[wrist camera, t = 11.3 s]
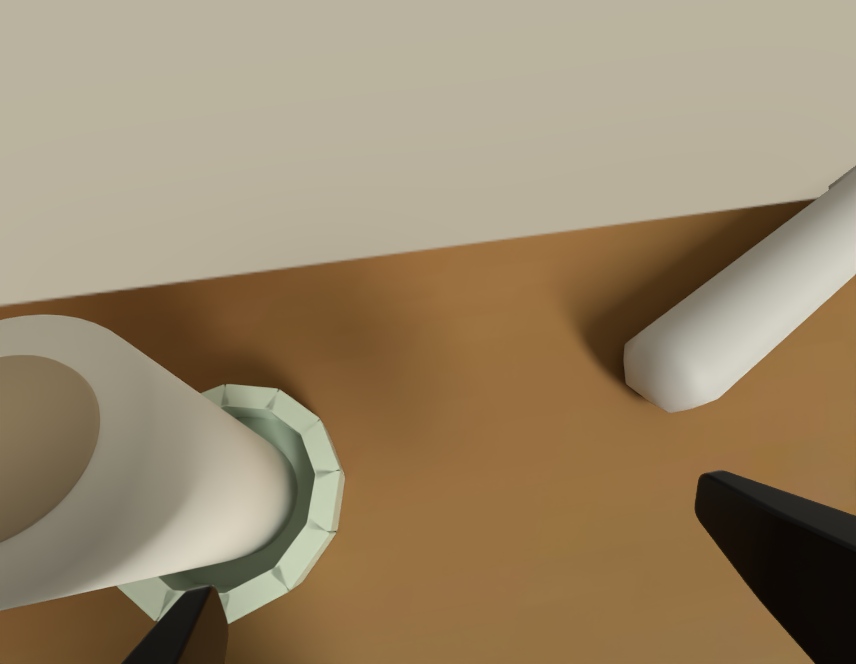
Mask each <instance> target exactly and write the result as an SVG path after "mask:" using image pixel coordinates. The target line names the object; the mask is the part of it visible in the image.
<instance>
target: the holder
mask: <svg viewBox="0 0 856 664" xmlns="http://www.w3.org/2000/svg"><path fill="white" fill-rule="evenodd" d="M200 394H201V395H203V396H204V397H206V398H207V399H208V400H210V401H211V402H213V403H214V404H215V405H217V406H218V407H220V408H221V409H223V410H224V411H225V412H227V413H228V414H230V415H231V416H232V417H234V418H235V419H237V420H238V421H239V422H241V423H242V424H244V425H245V426H247V427H248V428H249V429H251V430H252V431H254V432H255V433H256V434H258V435H259V436H261V437H262V438H264V439H265V440H266V441H268V442H269V443H271V444H272V445H273V446H275V447H276V448H278V449H279V450H280V451H281V452H282V453H284V454H285V456H286V457H287V458H288V459H289V461H290V462H291V464H292V466H293V468H294V471H295V474H296V478H297V484H298V494H297V502H296V505H295V509H294V512H293V514H292V517H291V519H290V521H289V523H288V524H287V526H286V527H285V529H284V530H283V532H282V533H281V534H280V535H279V536H278V537H277V538H276V539H275V540H274V541H273V542H272V543H271V544H270V545H268V546H267V547H266V548H264V549H263V550H261V551H259V552H257V553H255V554H253V555H250V556H247V557H244V558H240V559H235V560H231V561H226V562H222V563H217V564H212V565H208V566H203V567H199V568H194V569H190V570H185V571H180V572H176V573H171V574H167V575H162V576H157V577H153V578H148V579H144V580H139V581H134V582H130V583H125V584H121V585H116V586H117V587H118V588H119V589H120V590H121V591H122V592H123V593H125V594H126V595H127V596H128V597H129V598H130V599H131V600H132V601H133V602H134V603H135V604H137V605H138V606H139V607H140V608H141V609H142V610H143V611H144V612H145V613H146V614H148V615H149V616H150V617H151V618H152V619H153V620H154V621H156V620H158V621H159V620H160V619H161V618H162V617H163V616H164V614H165V613H166V612H167V611H168V610H169V609H170V608H171V607H172V605H173V604H174V603H175V602H176V601H177V600H178V599H179V597H180V596H181V595H182V594H183V593H185V592H186V591H187V590H189V589H193V588H197V587H202V586H206V585H214V586H215V587H216V588H217V590H218V593H219V596H220V599H221V602H222V605H223V608H224V611H225V615H226V618H227V622H228V624H229V623H231V622H233V621H235V620H237V619H239V618H241V617H243V616H244V615H246V614H248V613H250V612H252V611H254V610H256V609H257V608H259V607H261V606H263V605H265V604H267V603H269V602H270V601H272V600H274V599H276V598H278V597H280V596H282V595H283V594H285V593H287V592H289V591H290V590H292V589H293V588H295V587H296V586H298V585H299V584H300V583H302V582H303V580H304V579H305V577H306V576H307V575H308V573H309V572H310V570H311V569H312V567H313V566H314V565H315V563H316V562H317V560H318V559H319V557H320V556H321V555H322V553H323V552H324V550H325V549H326V547H327V546H328V544H329V543H330V542H331V540H332V539H333V537H334V536H335V534H336V532H335V531H337V530H338V523H339V517H340V510H341V503H342V496H343V489H344V482H345V477H344V475H345V474H344V472H343V469H342V466H341V464H340V461H339V459H338V456H337V454H336V451H335V449H334V446H333V443H332V441H331V438H330V436H329V433H328V431H327V429H326V428H325V426H324V424H323V423H322V421H321V420H320V418H318V417H317V416H316V415H314V414H313V413H312V412H310V411H309V410H308V409H306V408H305V407H303V406H302V405H301V404H299V403H298V402H297V401H295V400H294V399H292V398H291V397H290V396H288V395H287V394H286V393H284V392H283V391H282V390H279V389H277V388H266V387H255V386H244V385H233V384H226V386H225V385H224V384H223V385H221V386H218V387H216V388H213V389H210V390H208V391H205V392H203V393H200Z"/></svg>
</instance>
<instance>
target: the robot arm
mask: <svg viewBox="0 0 856 664" xmlns="http://www.w3.org/2000/svg"><path fill="white" fill-rule="evenodd" d="M695 513H696V516H697V518H698V520H699V521H700V523H701V524H702V525H703V527H704V528H705V529H706V531H707V532H708V533H709V535H710V536H711V537H712V539H713V540H714V541H715V543H716V544H717V545H718V547H719V548H720V549H721V551H722V552H723V553H724V555H725V556H726V557H727V559H728V560H729V561H730V563H731V564H732V565H733V567H734V568H735V569H736V570H737V572H738V573H739V574H740V576H741V577H742V578H743V580H744V581H745V582H746V584H747V585H748V586H749V588H750V589H751V590H752V591H753V593H754V594H755V595H756V596H757V598H758V599H759V600H760V601H761V602H762V604H763V605H764V606H765V607H766V608H767V610H768V611H769V612H770V613H771V614H772V615H773V616H774V618H775V619H776V620H777V621H778V622H779V623H780V624H781V626H782V627H783V628H784V629H785V630H786V631H787V632H788V633H789V635H790V636H791V637H792V638H793V639H794V640H795V641H796V643H797V644H798V645H799V646H800V647H801V648H802V649H803V651H804V652H805V653H806V654H807V655H808V656H809V657H810V659H811V660H812V661H813V662H814V663H815V664H856V516H855V515H852V514H849V513H846V512H843V511H840V510H837V509H835V508H832V507H829V506H826V505H823V504H820V503H817V502H814V501H811V500H808V499H805V498H803V497H800V496H797V495H794V494H791V493H788V492H785V491H782V490H779V489H776V488H773V487H771V486H768V485H765V484H762V483H759V482H756V481H753V480H750V479H747V478H744V477H741V476H739V475H736V474H733V473H730V472H727V471H723V470H717V471H713V472H708V473H704V474H702V475H701V476H700V477H699V480H698V485H697V492H696V499H695ZM227 639H228V622H227V618H226V615H225V611H224V608H223V605H222V602H221V599H220V596H219V593H218V590H217V588H216V587H215V586H214V585H206V586H202V587H197V588H193V589H189V590H187V591H186V592H185V593H183V594H182V595H181V596H180V597H179V599H178V600H177V601H176V602H175V603H174V604H173V605H172V607H171V608H170V609H169V610H168V611H167V612H166V613H165V614H164V616H163V617H162V618H161V619H160V620H159V621H158V622H157V623H156V625H155V626H154V627H153V628H152V629H151V630H150V631H149V632H148V634H147V635H146V636H145V637H144V638H143V639H142V640H141V641H140V643H139V644H138V645H137V646H136V647H135V648H134V649H133V651H132V652H131V653H130V654H129V655H128V656H127V657H126V658H125V660H124V661H123V662H122V663H121V664H224V661H225V654H226V647H227Z"/></svg>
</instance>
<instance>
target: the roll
mask: <svg viewBox="0 0 856 664" xmlns="http://www.w3.org/2000/svg"><path fill="white" fill-rule="evenodd" d="M297 494H298V484H297V478H296V474H295V471H294V468H293V466H292V464H291V462H290V461H289V459H288V458H287V457H286V456H285V454H284V453H282V452H281V451H280V450H279V449H278V448H276V447H275V446H273V445H272V444H271V443H269V442H268V441H266V440H265V439H264V438H262V437H261V436H259V435H258V434H256V433H255V432H254V431H252V430H251V429H249V428H248V427H247V426H245V425H244V424H242V423H241V422H239V421H238V420H237V419H235V418H234V417H232V416H231V415H230V414H228V413H227V412H225V411H224V410H223V409H221V408H220V407H218V406H217V405H215V404H214V403H213V402H211V401H210V400H208V399H207V398H206V397H204V396H203V395H201V394H200V393H199V392H197V391H196V390H194V389H193V388H191V387H190V386H189V385H187V384H186V383H184V382H183V381H182V380H180V379H179V378H177V377H176V376H175V375H173V374H172V373H170V372H169V371H167V370H166V369H165V368H163V367H162V366H160V365H159V364H158V363H156V362H155V361H153V360H152V359H151V358H149V357H148V356H146V355H145V354H143V353H142V352H141V351H139V350H138V349H136V348H135V347H134V346H132V345H131V344H129V343H128V342H127V341H125V340H124V339H122V338H121V337H119V336H118V335H116V334H115V333H113V332H112V331H110V330H109V329H107V328H104V327H102V326H100V325H98V324H96V323H93V322H90V321H87V320H83V319H80V318H75V317H69V316H62V315H29V316H20V317H14V318H8V319H3V320H0V611H1V610H6V609H10V608H15V607H20V606H24V605H29V604H33V603H38V602H43V601H47V600H52V599H56V598H61V597H66V596H70V595H75V594H79V593H84V592H89V591H93V590H98V589H102V588H107V587H111V586H116V585H121V584H125V583H130V582H134V581H139V580H144V579H148V578H153V577H157V576H162V575H167V574H171V573H176V572H180V571H185V570H190V569H194V568H199V567H203V566H208V565H212V564H217V563H222V562H226V561H231V560H235V559H240V558H244V557H247V556H250V555H253V554H255V553H257V552H259V551H261V550H263V549H264V548H266V547H267V546H268V545H270V544H271V543H272V542H273V541H274V540H275V539H276V538H277V537H278V536H279V535H280V534H281V533H282V532H283V530H284V529H285V527H286V526H287V524H288V523H289V521H290V519H291V517H292V514H293V512H294V509H295V505H296V502H297Z"/></svg>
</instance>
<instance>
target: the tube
mask: <svg viewBox="0 0 856 664" xmlns="http://www.w3.org/2000/svg"><path fill="white" fill-rule="evenodd" d="M855 274H856V166H855V167H853V168H852V169H851V170H849V171H848V172H847V173H845V174H844V175H843V176H842V177H840V178H839V179H838V180H836V181H835V182H834V183H832V184H831V185H830V186H829V190H828V191H827V192H826V193H824V194H823V195H822V196H820V197H819V198H818V199H816V200H815V201H814V202H812V203H811V204H810V205H808V206H807V207H806V208H804V209H803V210H802V211H800V212H799V213H798V214H796V215H795V216H794V217H792V218H791V219H790V220H788V221H787V222H786V223H785V224H783V225H782V226H781V227H779V228H778V229H777V230H775V231H774V232H773V233H771V234H770V235H769V236H767V237H766V238H765V239H763V240H762V241H761V242H759V243H758V244H757V245H755V246H754V247H753V248H751V249H750V250H749V251H747V252H746V253H745V254H743V255H742V256H741V257H739V258H738V259H737V260H735V261H734V262H733V263H731V264H730V265H729V266H727V267H726V268H725V269H723V270H722V271H721V272H719V273H718V274H717V275H715V276H714V277H713V278H711V279H710V280H709V281H708V282H706V283H705V284H704V285H702V286H701V287H700V288H698V289H697V290H696V291H694V292H693V293H692V294H690V295H689V296H688V297H686V298H685V299H684V300H682V301H681V302H680V303H678V304H677V305H676V306H674V307H673V308H672V309H670V310H669V311H668V312H666V313H665V314H664V315H662V316H661V317H660V318H658V319H657V320H656V321H654V322H653V323H652V324H650V325H649V326H648V327H646V328H645V329H644V330H642V331H641V332H640V333H639V334H637V335H636V336H635V337H633V338H632V339H631V340H629V341H628V342H627V343H625V347H624V358H623V360H624V370H625V380H626V384H627V385H628V386H629V387H631V388H632V389H633V390H635V391H636V392H637V393H639V394H640V395H641V396H643V397H644V398H645V399H647V400H648V401H649V402H651V403H653V404H655V405H656V406H658V407H660V408H662V409H663V410H665V411H667V412H669V413H672V412H677V411H682V410H688V409H692V408H695V407H698V406H700V405H703V404H706V403H708V402H711V401H714V400H716V399H718V398H719V397H720V396H721V395H723V394H724V393H725V392H726V391H727V390H728V389H729V388H730V387H731V386H732V385H734V384H735V383H736V382H737V381H738V380H739V379H740V378H741V377H742V376H744V375H745V374H746V373H747V372H748V371H749V370H750V369H751V368H752V367H753V366H755V365H756V364H757V363H758V362H759V361H760V360H761V359H762V358H763V357H765V356H766V355H767V354H768V353H769V352H770V351H771V350H772V349H773V348H774V347H776V346H777V345H778V344H779V343H780V342H781V341H782V340H783V339H784V338H786V337H787V336H788V335H789V334H790V333H791V332H792V331H793V330H794V329H795V328H797V327H798V326H799V325H800V324H801V323H802V322H803V321H804V320H805V319H807V318H808V317H809V316H810V315H811V314H812V313H813V312H814V311H815V310H816V309H818V308H819V307H820V306H821V305H822V304H823V303H824V302H825V301H826V300H827V299H829V298H830V297H831V296H832V295H833V294H834V293H835V292H836V291H837V290H839V289H840V288H841V287H842V286H843V285H844V284H845V283H846V282H847V281H848V280H850V279H851V278H852V277H853V276H854V275H855Z"/></svg>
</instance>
